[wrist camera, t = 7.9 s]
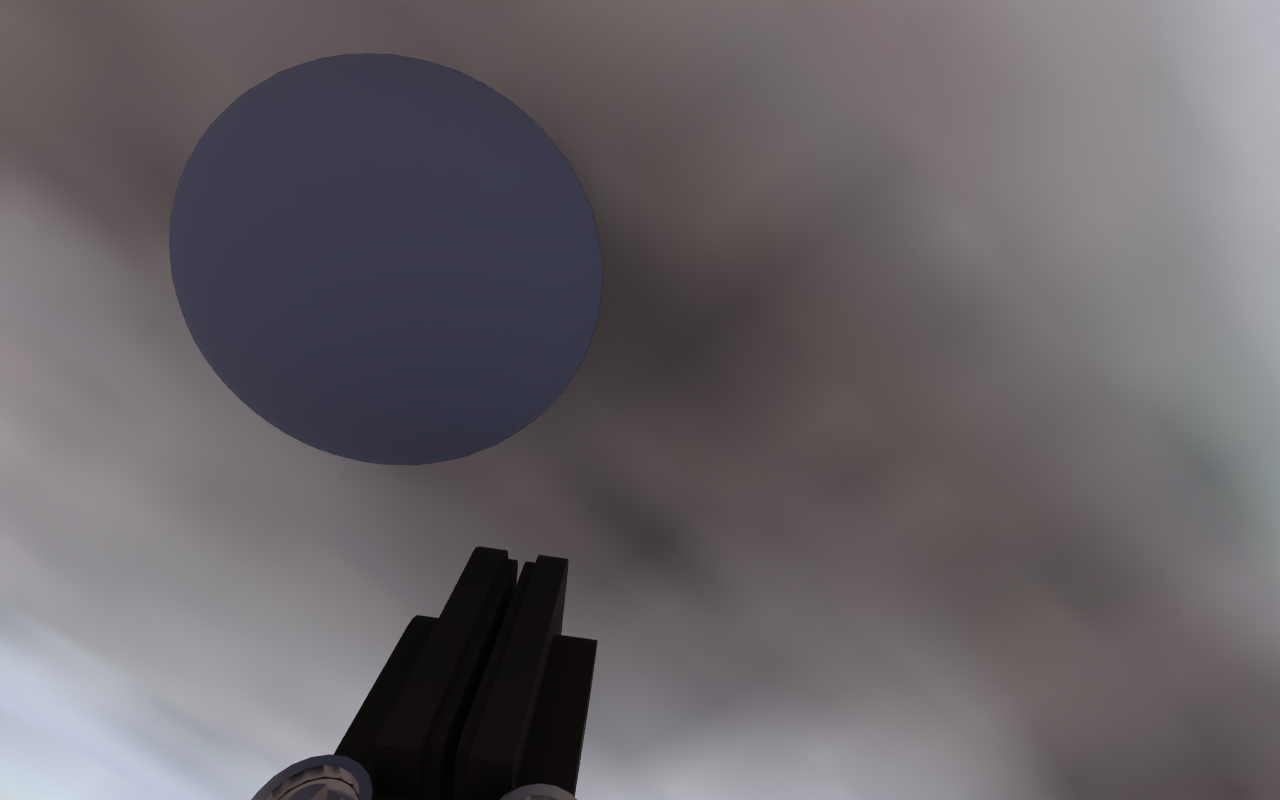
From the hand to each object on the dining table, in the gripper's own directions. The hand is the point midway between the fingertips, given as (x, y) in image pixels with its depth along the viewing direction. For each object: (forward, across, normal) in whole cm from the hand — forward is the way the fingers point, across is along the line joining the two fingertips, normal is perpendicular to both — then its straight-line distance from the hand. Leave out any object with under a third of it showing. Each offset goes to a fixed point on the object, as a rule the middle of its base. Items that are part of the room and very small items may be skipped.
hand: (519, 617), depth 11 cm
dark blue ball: (0, +2, -6) cm, 6 cm away
